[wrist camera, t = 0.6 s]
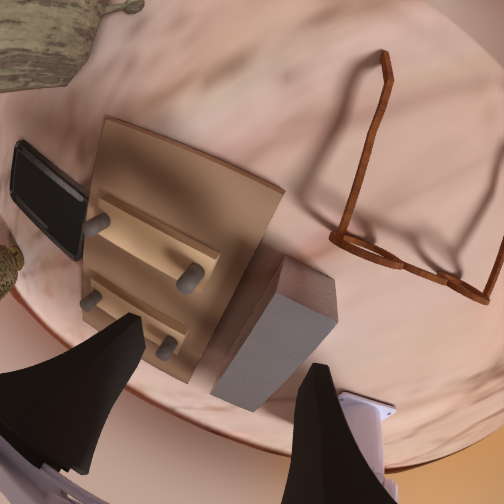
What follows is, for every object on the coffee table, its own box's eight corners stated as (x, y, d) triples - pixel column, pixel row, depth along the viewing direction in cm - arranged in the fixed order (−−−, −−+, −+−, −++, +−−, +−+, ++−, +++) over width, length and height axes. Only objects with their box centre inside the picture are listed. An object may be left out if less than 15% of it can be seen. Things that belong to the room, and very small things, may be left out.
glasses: (324, 230, 18) (327, 264, 14) (380, 51, 12) (402, 25, 8) (464, 284, 17) (490, 321, 12) (520, 140, 11) (560, 149, 6)
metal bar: (264, 371, 25) (253, 412, 20) (226, 354, 25) (209, 394, 20) (334, 278, 19) (338, 322, 15) (285, 253, 19) (276, 292, 15)
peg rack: (191, 376, 27) (176, 405, 23) (88, 314, 27) (67, 335, 23) (285, 190, 17) (277, 208, 13) (115, 118, 17) (77, 121, 13)
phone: (16, 138, 19) (91, 200, 20) (23, 136, 20) (99, 197, 21) (9, 197, 22) (78, 266, 23) (15, 194, 23) (85, 261, 24)
